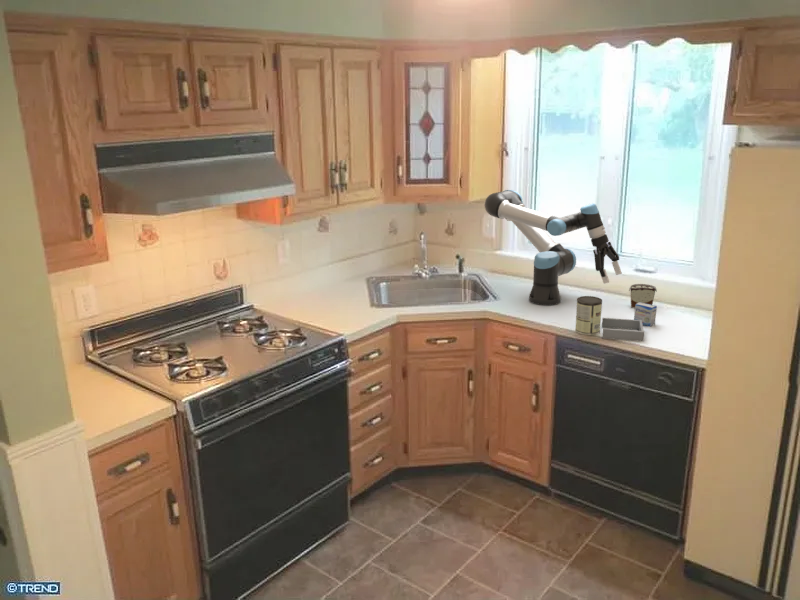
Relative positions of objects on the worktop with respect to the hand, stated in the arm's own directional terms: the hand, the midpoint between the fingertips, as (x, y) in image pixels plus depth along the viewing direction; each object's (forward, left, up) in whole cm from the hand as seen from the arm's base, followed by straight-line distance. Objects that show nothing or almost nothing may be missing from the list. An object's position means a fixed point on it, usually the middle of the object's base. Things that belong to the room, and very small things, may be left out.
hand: (612, 278), depth 322 cm
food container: (+13, +3, -13) cm, 18 cm away
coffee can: (+1, -43, -13) cm, 45 cm away
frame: (+14, -40, -12) cm, 44 cm away
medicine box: (+20, -22, -13) cm, 32 cm away
